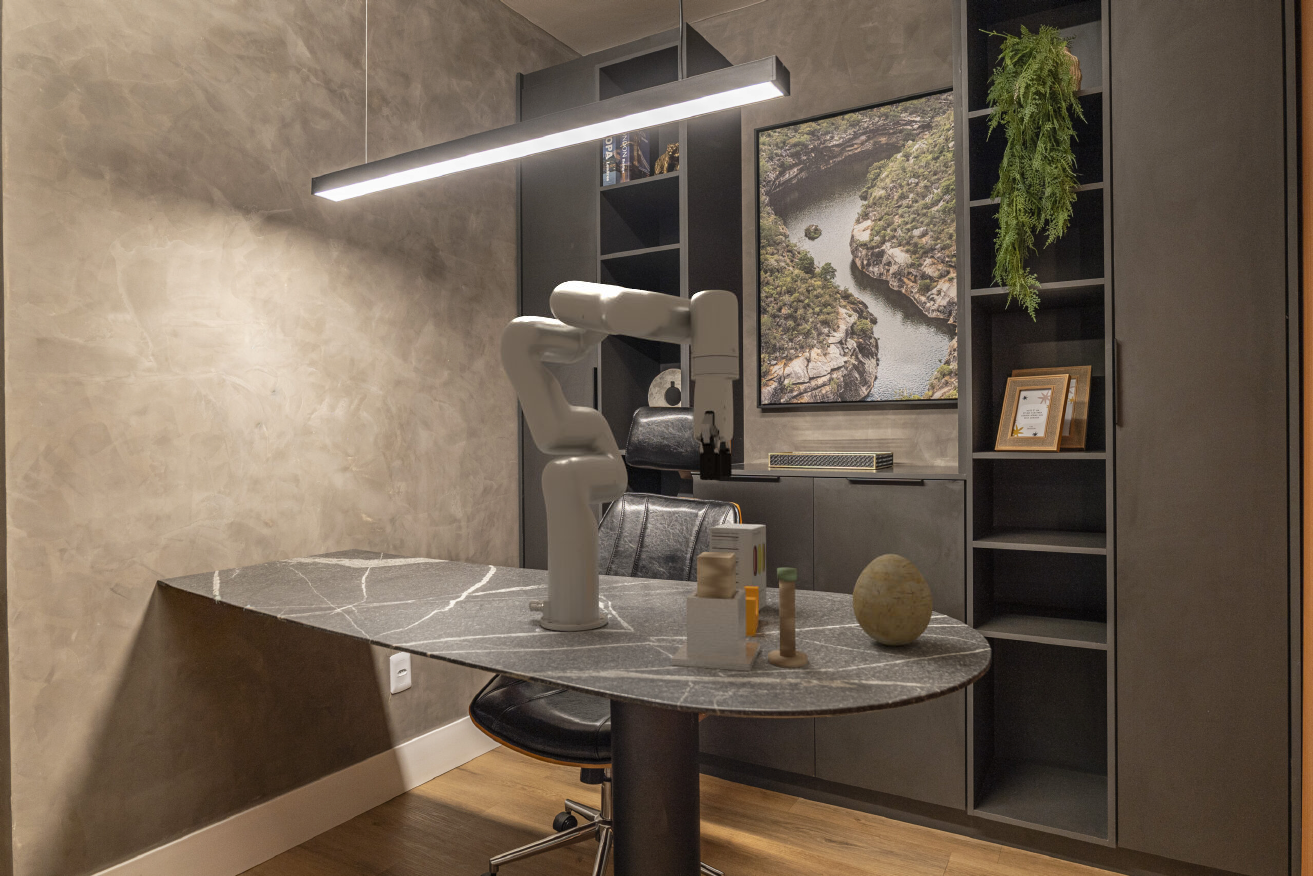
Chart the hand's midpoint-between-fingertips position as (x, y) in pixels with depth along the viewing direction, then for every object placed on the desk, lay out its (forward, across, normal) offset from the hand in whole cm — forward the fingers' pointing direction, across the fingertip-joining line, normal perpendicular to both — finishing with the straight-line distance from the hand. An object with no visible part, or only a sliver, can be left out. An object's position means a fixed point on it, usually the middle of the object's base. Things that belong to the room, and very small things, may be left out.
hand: (716, 478), depth 118 cm
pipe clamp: (+28, -20, +1) cm, 35 cm away
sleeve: (+28, 0, 0) cm, 28 cm away
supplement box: (+28, -35, -2) cm, 45 cm away
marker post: (+28, 0, +11) cm, 30 cm away
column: (+27, 0, 0) cm, 27 cm away
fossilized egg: (+28, -14, +27) cm, 42 cm away
